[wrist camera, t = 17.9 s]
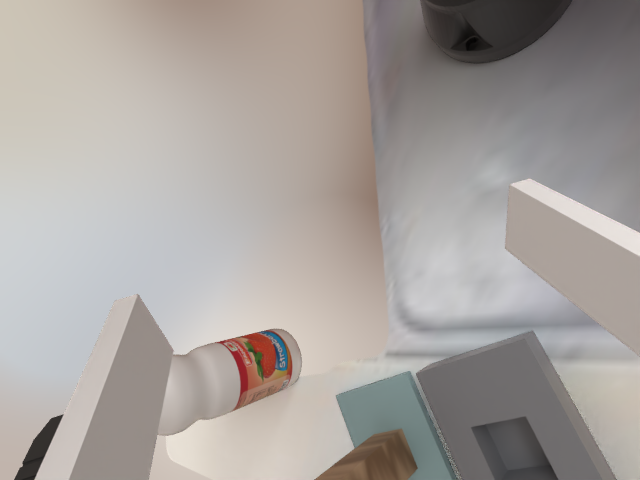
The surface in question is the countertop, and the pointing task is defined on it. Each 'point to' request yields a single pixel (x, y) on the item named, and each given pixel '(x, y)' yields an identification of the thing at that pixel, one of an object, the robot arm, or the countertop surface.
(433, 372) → the block
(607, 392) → the countertop surface
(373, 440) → the walnut plug
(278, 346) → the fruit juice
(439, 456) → the pad
